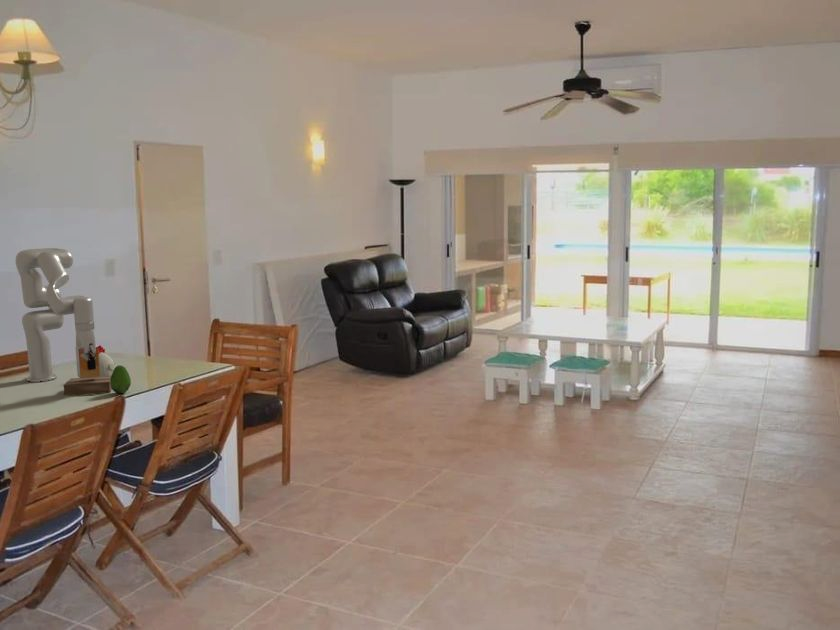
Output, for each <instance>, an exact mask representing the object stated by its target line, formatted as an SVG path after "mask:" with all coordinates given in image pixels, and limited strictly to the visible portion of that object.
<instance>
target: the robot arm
mask: <svg viewBox="0 0 840 630" xmlns="http://www.w3.org/2000/svg"><path fill="white" fill-rule="evenodd" d="M73 263H74V259H73V255H72V253H71V252H69V250H67V249H63V248H57V247H50V248H49V247H48V248H46V247H45V248H30V249H29V248H28V249H24V250H23V249H22V250H21V251H19V252H17V254H16V256H15V265H16V269H17V272H18V274H19V276H20V283H21V292H22V299H23V305H24V306H25V307H26V308H28V309H38V308H46V307H48V309H40V310H39V309H38V310H32V311H31V310H30V311H28V312H26V313H24V314H23V316H22V317H21V324H22V328H23V330H24V335H25V341H26V349H27V360H28V370H29V371H28V372H29V376H27V377H26V380H27V381H26V382H28V381H30V382H29V383H37V382H38V383H39V382H40V381H42V382H48V380H49V381H52V379H53V380H55V379H57V374H56V373H54V372H53V362H52V352H51V340H50V338H49V337H48V335H46V333H44V332H46V331H52V330H58V329H60V328H62V327H63V325H64V323H65V320H64V318H65V317H64V316H65V315H72V314H73V317H74V329H75V347H80V348H82V349H83V354H84V355H85V354H86V353H87V358H88V360H87V365H88V370H91V369H96V363H95V354H96V346H97V344H96V338H95V332H94V330H96V328H95V327H96V326H95V318H94V317H95V316H94V305H93V299H92V298H91V297H87V296H86V297H85V296H84V295H69V296H62V294H61V291H60V288H62V287H64V286H65V285H66V284H67V283H69V280H70V276H69V273H68V271H67V270H66V269H69V268H72V266H73ZM38 268H39V269H40V270H41V271H42V274H43V275H44V277H45V278H46V280H47V282H48V285H44V284H43V278H42V275H41V273H40V272H39V271H38V270H37V269H38ZM88 351H91V353H88ZM89 355H90V356H89Z"/></svg>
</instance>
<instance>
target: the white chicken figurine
mask: <svg viewBox="0 0 840 630" xmlns="http://www.w3.org/2000/svg"><path fill="white" fill-rule="evenodd" d="M97 346H98V352H99V366H100V376H98V377H106V376H112V373H113V371H114V369H115V367H116V366H117V364H116V362H114V360H113V358H111V356H109V355H108V354H107V353H105V352H106V349H105V348H104V347H103V346H102V345H97ZM89 378H90V377H89Z"/></svg>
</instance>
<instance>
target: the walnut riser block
mask: <svg viewBox="0 0 840 630" xmlns="http://www.w3.org/2000/svg"><path fill="white" fill-rule="evenodd" d="M110 379H111V376H106V377H90V378H81V379H80V378H79V377H78V378H77V377H76V378H70V379H69V380H67V381H66V382H65V383H64V384H63V390H64V391H63V393H64V396H65V395H66V396H80V395H95V394H110V393H111V392H112V391H113V390H112V388H111V385H110ZM111 390H112V391H111Z"/></svg>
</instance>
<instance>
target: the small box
mask: <svg viewBox="0 0 840 630" xmlns="http://www.w3.org/2000/svg"><path fill="white" fill-rule="evenodd" d="M98 346H99V345H96V354H95V363H96V369H91V370H88V365H87V360H88V358H87V353H86V354H85V355H84V354H83V349H82V348H80V347H76V346H74V347H75V358H76V371H77V372H76V373H77V377H78V378H80V379H81V378H89V377H98V376H100V366H99V352H98ZM88 353H91V351H88ZM89 356H90V355H89Z"/></svg>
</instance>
